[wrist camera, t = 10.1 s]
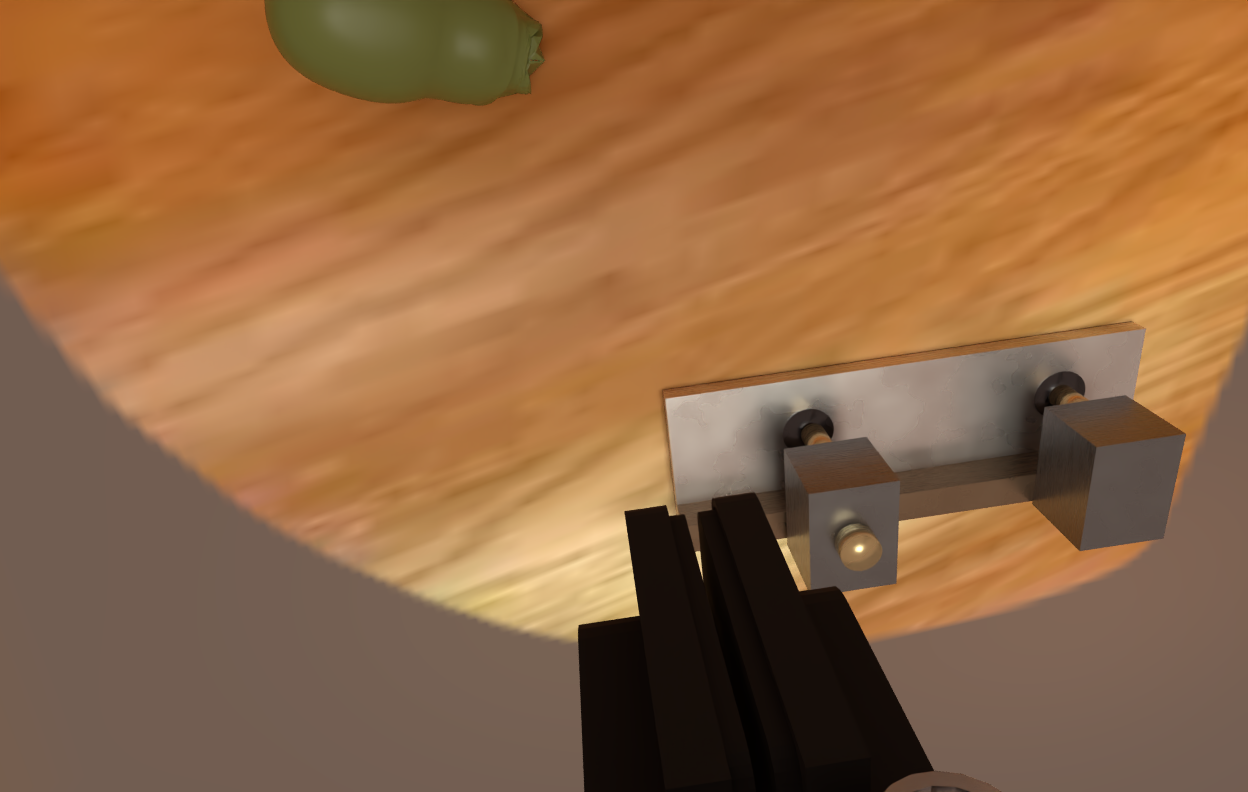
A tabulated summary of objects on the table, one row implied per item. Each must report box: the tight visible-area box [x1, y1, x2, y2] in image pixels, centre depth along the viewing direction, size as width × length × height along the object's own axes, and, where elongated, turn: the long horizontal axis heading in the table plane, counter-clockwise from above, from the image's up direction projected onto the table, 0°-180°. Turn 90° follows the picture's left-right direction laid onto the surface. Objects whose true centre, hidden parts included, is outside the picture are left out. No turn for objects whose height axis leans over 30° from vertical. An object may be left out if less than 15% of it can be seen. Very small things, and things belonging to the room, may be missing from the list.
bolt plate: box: [663, 322, 1186, 552], centre depth 38 cm, size 24×8×7 cm, turn 97°
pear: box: [265, 0, 545, 105], centre depth 29 cm, size 6×5×10 cm
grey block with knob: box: [784, 424, 900, 592], centre depth 37 cm, size 4×6×7 cm
